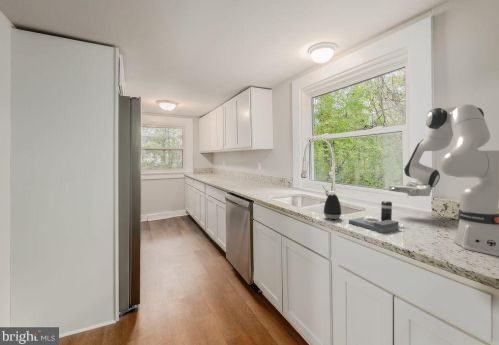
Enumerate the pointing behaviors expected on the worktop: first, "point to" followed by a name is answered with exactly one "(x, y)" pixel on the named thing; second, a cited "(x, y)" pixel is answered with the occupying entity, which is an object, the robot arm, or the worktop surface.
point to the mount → (375, 224)
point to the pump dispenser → (332, 207)
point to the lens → (386, 210)
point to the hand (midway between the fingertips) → (400, 190)
